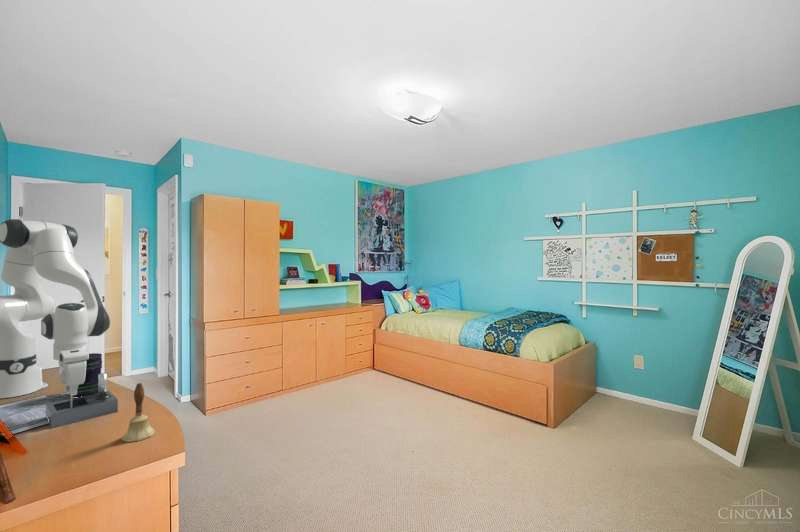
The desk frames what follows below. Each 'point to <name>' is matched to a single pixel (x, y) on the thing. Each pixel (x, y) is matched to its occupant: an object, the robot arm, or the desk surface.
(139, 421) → the hand bell
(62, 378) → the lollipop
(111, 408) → the grey stand
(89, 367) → the storage jar
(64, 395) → the desk surface
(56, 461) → the desk surface
